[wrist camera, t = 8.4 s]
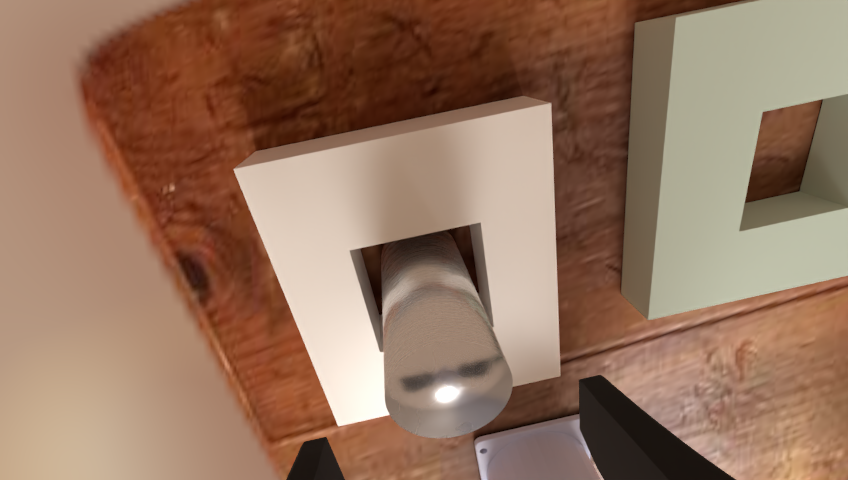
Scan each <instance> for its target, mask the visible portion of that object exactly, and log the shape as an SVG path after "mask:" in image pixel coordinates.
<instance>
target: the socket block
mask: <svg viewBox="0 0 848 480" xmlns="http://www.w3.org/2000/svg"><path fill="white" fill-rule="evenodd" d="M821 99H823V102H822V106H821V110H820V114H819V118H818V121H817V125H816V129H815V133H814V137H813V141H812V145H811V148H810V152H809V156H808V160H807V164H806V168H805V172H804V175H803V179H802V183H801V187H800V191H798V192H794V193H789V194H785V195H780V196H775V197H771V198H766V199H762V200H757V201H753V202H748V203H745V199H746V194H747V189H748V184H749V178H750V173H751V168H752V163H753V158H754V153H755V148H756V143H757V138H758V133H759V128H760V123H761V117H762V112H764V111H769V110H774V109H779V108H783V107H788V106H793V105H797V104H802V103H807V102H812V101H816V100H821ZM843 276H848V0H744V1H739V2H734V3H729V4H724V5H720V6H715V7H710V8H705V9H700V10H695V11H690V12H685V13H680V14H675V15H670V16H666V17H661V18H656V19H651V20H646V21H641V22H636V23H635V32H634V52H633V71H632V90H631V110H630V129H629V148H628V168H627V187H626V206H625V226H624V245H623V264H622V284H621V295H623V296H624V297H625V298H626V299H627V300H628V301H629V302H630V303H631V304H632V305H633V306H634V307H635V308H636V309H637V310H638V311H639V312H640V313H641V314H642V315H643V316H644V317H645V318H646V319H647V320H651V319H656V318H660V317H665V316H669V315H674V314H678V313H682V312H687V311H691V310H696V309H700V308H705V307H709V306H714V305H718V304H723V303H727V302H732V301H736V300H740V299H745V298H749V297H754V296H758V295H763V294H767V293H772V292H776V291H781V290H785V289H790V288H794V287H798V286H803V285H807V284H812V283H816V282H821V281H825V280H830V279H834V278H839V277H843Z"/></svg>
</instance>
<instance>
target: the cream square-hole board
mask: <svg viewBox="0 0 848 480" xmlns="http://www.w3.org/2000/svg"><path fill="white" fill-rule="evenodd" d="M233 170H234V172H235V175H236V177H237V180H238V182H239V184H240V187H241V189H242V192H243V194H244V197H245V199H246V202H247V204H248V206H249V209H250V211H251V214H252V216H253V219H254V221H255V224H256V226H257V228H258V231H259V233H260V236H261V238H262V241H263V243H264V246H265V248H266V251H267V253H268V255H269V258H270V260H271V263H272V265H273V268H274V270H275V273H276V275H277V277H278V280H279V282H280V285H281V287H282V290H283V292H284V295H285V297H286V299H287V302H288V304H289V307H290V309H291V312H292V314H293V317H294V319H295V321H296V324H297V326H298V329H299V331H300V334H301V336H302V339H303V341H304V343H305V346H306V348H307V351H308V353H309V356H310V358H311V361H312V363H313V366H314V368H315V370H316V373H317V375H318V378H319V380H320V383H321V385H322V388H323V390H324V392H325V395H326V397H327V400H328V402H329V405H330V407H331V410H332V412H333V414H334V417H335V419H336V422H337V424H338V426H342V425H347V424H351V423H356V422H360V421H364V420H369V419H373V418H378V417H382V416H386V415H390V414H389V413H388V410H387V408H386V404H385V389H384V352H383V316H382V315H379V312H378V309H377V305H376V302H375V298H374V295H373V291H372V288H371V284H370V281H369V277H368V274H367V270H366V267H365V263H364V260H363V256H362V253H361V249H360V248H363V247H368V246H373V245H377V244H382V243H387V242H391V241H396V240H401V239H405V238H410V237H415V236H419V235H424V234H429V233H433V232H438V231H443V230H447V229H452V228H456V227H461V226H466V225H469V226H470V233H471V240H472V247H473V254H474V261H475V268H476V275H477V282H478V289H479V293H477V294H478V296H479V298H480V301H481V303H482V305H483V308H484V310H485V312H486V315H487V317H488V319H489V322H490V324H491V326H492V328H493V331H494V333H495V335H496V338H497V340H498V342H499V345H500V347H501V349H502V352H503V354H504V356H505V359H506V361H507V363H508V366H509V368H510V371H511V373H512V379H513V387H515V386H519V385H523V384H528V383H532V382H537V381H541V380H545V379H550V378H554V377H559V376H561V373H560V344H559V315H558V286H557V257H556V229H555V200H554V171H553V142H552V113H551V103H549V102H545V101H541V100H538V99H534V98H530V97H526V96H520V97H515V98H510V99H505V100H501V101H496V102H491V103H486V104H481V105H477V106H472V107H467V108H462V109H457V110H452V111H448V112H443V113H438V114H433V115H428V116H423V117H419V118H414V119H409V120H404V121H399V122H395V123H390V124H385V125H380V126H375V127H370V128H366V129H361V130H356V131H351V132H346V133H341V134H337V135H332V136H327V137H322V138H317V139H312V140H308V141H303V142H298V143H293V144H288V145H284V146H279V147H274V148H269V149H264V150H259V151H255V152H254V153H253V154H252V155H250V156H249V157H248V158H247V159H245V160H244V161H243V162H242V163H240V164H239V165H238V166H237V167H235V168H234V169H233Z"/></svg>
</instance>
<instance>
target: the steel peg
mask: <svg viewBox="0 0 848 480" xmlns="http://www.w3.org/2000/svg"><path fill="white" fill-rule="evenodd" d="M381 280H382V316H383V352H384V389H385V404H386V408H387V410H388V413H389V414H390V416H391V417H392V419H393V420H394V421H395V422H396V423H397V424H398V425H399V426H400V427H402V428H404V429H405V430H407V431H409V432H411V433H413V434H416V435H419V436H424V437H430V438H450V437H456V436H460V435H464V434H467V433H470V432H473V431H475V430H477V429H479V428H481V427H483V426H485V425H486V424H488V423H489V422H490V421H492V420H493V419H494V418H495V417H496V416H498V414H499V413H500V412H501V411H502V410H503V409H504V407H505V406H506V404H507V402H508V400H509V398H510V396H511V393H512V387H513V379H512V373H511V371H510V368H509V366H508V363H507V361H506V359H505V356H504V354H503V352H502V349H501V347H500V345H499V342H498V340H497V338H496V335H495V333H494V331H493V328H492V326H491V324H490V322H489V319H488V317H487V315H486V312H485V310H484V308H483V305H482V303H481V301H480V298H479V296H478V294H477V291H476V289H475V287H474V284H473V282H472V280H471V277H470V275H469V273H468V271H467V268H466V266H465V264H464V261H463V259H462V257H461V254H460V252H459V250H458V247H457V245H456V243H455V241H454V239H453V237H452V236H451V235H450V234H449V233H448V232H447V231H446V230H443V231H438V232H433V233H429V234H424V235H419V236H415V237H410V238H405V239H401V240H396V241H391V242H387V243H385V244H384V246H383V249H382V253H381Z"/></svg>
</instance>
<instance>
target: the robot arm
mask: <svg viewBox="0 0 848 480" xmlns="http://www.w3.org/2000/svg"><path fill="white" fill-rule="evenodd" d="M474 445H475V450H476V456H477V461H478V466H479V472H480V477H481V480H601V479H600V477H599V476H598V474H597V472H596V470H595V468H594V466H593V464H592V463H591V461H590V456H591V455H592V458H593V460H594V462H595V464H596V466H597V468H598V470H599V472H600V473H601V475H602V477H603V478H604V480H736V479H734V478H733V477H731V476H730V475H728V474H727V473H725V472H724V471H722V470H721V469H720V468H718V467H717V466H715V465H714V464H713V463H711V462H710V461H708V460H707V459H706V458H704V457H703V456H701V455H700V454H699V453H697V452H696V451H695V450H693V449H692V448H691V447H689V446H688V445H687V444H685V443H684V442H683V441H681V440H680V439H679V438H677V437H676V436H675V435H674V434H672V433H671V432H670V431H668V430H667V429H666V428H665V427H663V426H662V425H661V424H659V423H658V422H657V421H656V420H654V419H653V418H652V417H651V416H649V415H648V414H647V413H646V412H645V411H643V410H642V409H641V408H640V407H638V406H637V405H636V404H635V403H634V402H632V401H631V400H630V399H629V398H628V397H627V396H625V395H624V394H623V393H622V392H621V391H619V390H618V389H617V388H616V387H615V386H614V385H612V384H611V383H610V382H609V381H608V380H607V379H605V378H604V377H603V376H601V375H597V376H593V377H589V378H584V379H580V380H579V414H577V415H572V416H568V417H563V418H559V419H555V420H550V421H546V422H542V423H537V424H533V425H529V426H524V427H520V428H515V429H511V430H507V431H502V432H498V433H494V434H489V435H485V436H481V437H478V438H477V439H476V440H475V441H474ZM286 480H345V479H344V477H343V474H342V472H341V470H340V468H339V465H338V463H337V461H336V458H335V456H334V454H333V451H332V449H331V447H330V445H329V442H328V440H327V438H326V437H324V438H319V439H315V440H310V441H306V442H304V443H303V445H302V446H301V448H300V451H299V453H298V455H297V457H296V460H295V462H294V464H293V466H292V468H291V471H290V473H289V475H288V477H287V479H286Z"/></svg>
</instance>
